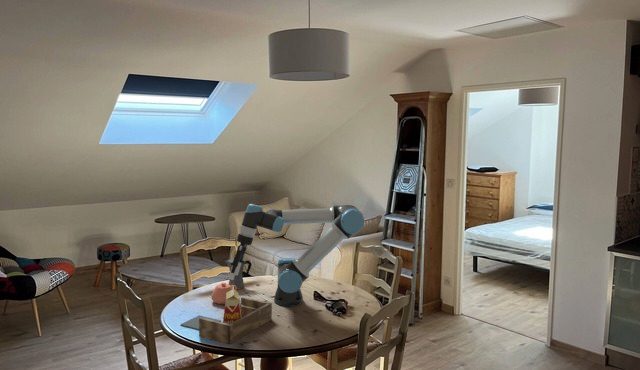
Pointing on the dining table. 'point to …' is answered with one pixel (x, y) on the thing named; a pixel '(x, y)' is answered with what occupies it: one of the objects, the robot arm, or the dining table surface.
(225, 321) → the milk carton
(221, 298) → the sugar bowl
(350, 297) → the dining table surface
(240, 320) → the lane rack
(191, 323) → the mat
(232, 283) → the coffeepot
